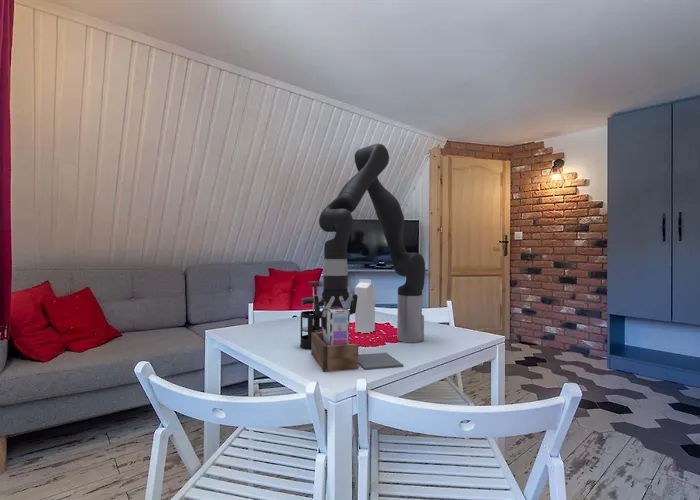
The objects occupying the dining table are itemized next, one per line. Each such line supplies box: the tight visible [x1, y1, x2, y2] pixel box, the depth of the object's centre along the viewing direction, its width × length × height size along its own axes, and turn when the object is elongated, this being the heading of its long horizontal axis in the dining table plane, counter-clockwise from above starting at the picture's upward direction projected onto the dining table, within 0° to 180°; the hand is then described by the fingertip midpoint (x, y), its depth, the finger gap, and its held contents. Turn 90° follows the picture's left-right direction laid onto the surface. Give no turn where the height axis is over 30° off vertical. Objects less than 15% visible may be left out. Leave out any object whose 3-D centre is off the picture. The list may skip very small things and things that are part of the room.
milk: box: [354, 278, 376, 334], centre depth 164 cm, size 6×6×22 cm
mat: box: [358, 352, 404, 371], centre depth 121 cm, size 12×14×1 cm
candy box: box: [322, 306, 350, 346], centre depth 122 cm, size 14×6×16 cm, turn 13°
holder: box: [310, 331, 359, 373], centre depth 122 cm, size 10×19×7 cm, turn 16°
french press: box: [299, 280, 325, 351], centre depth 140 cm, size 12×9×23 cm
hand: (335, 328), depth 122 cm, fingers closed on candy box, 6 cm apart
